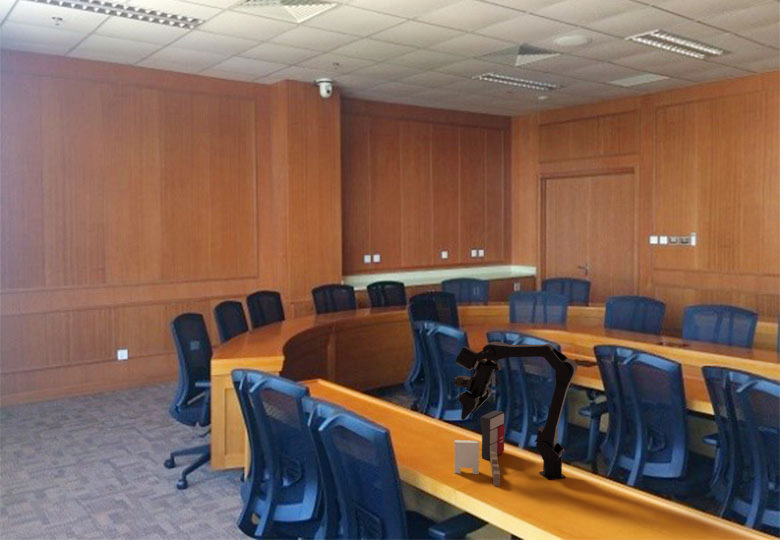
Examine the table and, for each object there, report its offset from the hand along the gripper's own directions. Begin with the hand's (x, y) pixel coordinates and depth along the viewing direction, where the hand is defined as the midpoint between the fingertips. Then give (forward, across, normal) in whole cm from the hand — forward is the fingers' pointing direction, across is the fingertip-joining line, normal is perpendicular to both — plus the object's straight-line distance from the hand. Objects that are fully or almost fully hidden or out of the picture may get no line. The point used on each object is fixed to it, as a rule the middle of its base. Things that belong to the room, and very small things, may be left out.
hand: (467, 416), depth 232 cm
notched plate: (+14, +10, +9) cm, 19 cm away
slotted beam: (+11, +6, +17) cm, 21 cm away
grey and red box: (+13, -11, +12) cm, 21 cm away
